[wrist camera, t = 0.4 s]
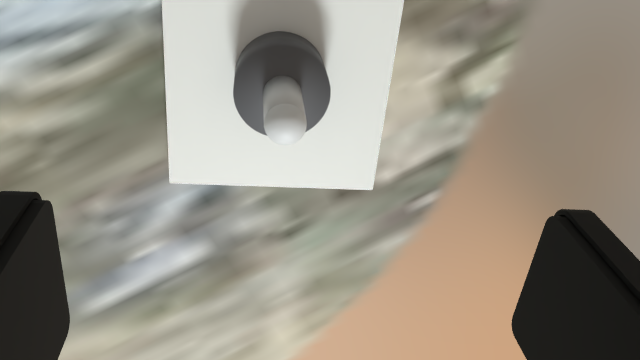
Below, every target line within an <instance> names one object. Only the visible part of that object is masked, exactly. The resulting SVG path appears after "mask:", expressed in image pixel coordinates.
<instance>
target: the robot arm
mask: <svg viewBox="0 0 640 360" xmlns="http://www.w3.org/2000/svg"><path fill="white" fill-rule="evenodd" d="M69 323H70V315H69V308H68V302H67V295H66V289H65V283H64V276H63V270H62V264H61V257H60V251H59V245H58V238H57V232H56V226H55V219H54V213H53V207H52V204H51V202H50V201H47V200H42V199H41V196H40V195H39V193H37V192H20V191H1V192H0V360H58V357H59V355H60V352H61V350H62V347H63V345H64V342H65V340H66V337H67V334H68V330H69ZM512 331H513V334H514V336H515V339H516V340H517V342H518V344H519V346H520V348H521V350H522V351H523V353H524V355H525V357H526V359H527V360H640V261H639V260H638V259H637V258H636V257H635V256H634V254H633V253H632V252H631V251H630V250H629V249H628V248H627V247H626V246H625V245H624V244H623V243H622V242H621V241H620V240H619V239H618V238H617V237H616V236H615V234H614V233H613V232H612V231H611V230H610V229H609V228H608V227H607V226H606V225H605V224H604V223H603V222H602V221H601V220H600V219H599V218H598V217H597V216H596V215H595V213H593V212H592V211H589V210H569V209H568V210H567V209H561V210H559V211H557V212H556V214H555V215H554V216H551V217H549V218H548V219H547V221H546V223H545V226H544V229H543V232H542V234H541V237H540V240H539V243H538V246H537V249H536V252H535V254H534V257H533V260H532V263H531V266H530V269H529V272H528V274H527V277H526V280H525V283H524V286H523V289H522V292H521V295H520V298H519V300H518V303H517V306H516V309H515V312H514V315H513V318H512Z"/></svg>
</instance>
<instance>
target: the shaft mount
mask: <svg viewBox="0 0 640 360" xmlns="http://www.w3.org/2000/svg"><path fill="white" fill-rule="evenodd" d="M403 4H404V0H162V15H163V39H164V62H165V86H166V110H167V133H168V157H169V180H170V183H179V184H209V185H238V186H268V187H298V188H327V189H357V190H373V184H374V178H375V172H376V166H377V160H378V154H379V148H380V142H381V136H382V130H383V124H384V118H385V112H386V106H387V100H388V94H389V88H390V82H391V76H392V70H393V64H394V58H395V52H396V46H397V40H398V34H399V28H400V22H401V16H402V10H403Z"/></svg>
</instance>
